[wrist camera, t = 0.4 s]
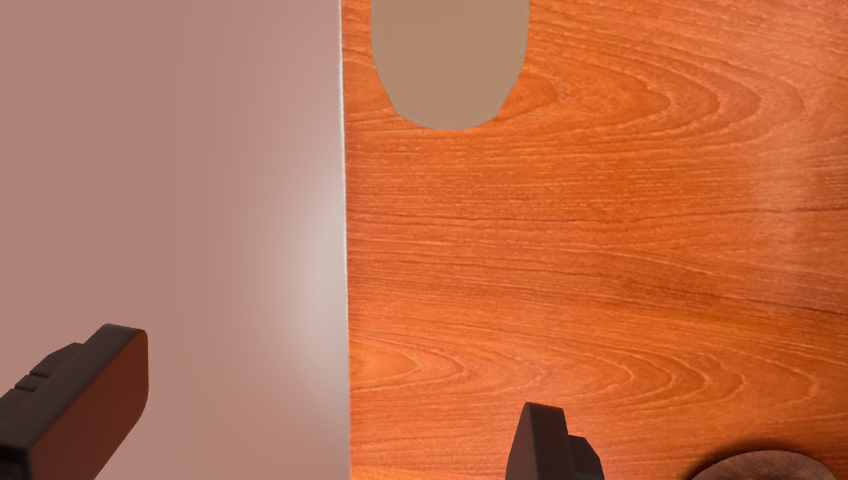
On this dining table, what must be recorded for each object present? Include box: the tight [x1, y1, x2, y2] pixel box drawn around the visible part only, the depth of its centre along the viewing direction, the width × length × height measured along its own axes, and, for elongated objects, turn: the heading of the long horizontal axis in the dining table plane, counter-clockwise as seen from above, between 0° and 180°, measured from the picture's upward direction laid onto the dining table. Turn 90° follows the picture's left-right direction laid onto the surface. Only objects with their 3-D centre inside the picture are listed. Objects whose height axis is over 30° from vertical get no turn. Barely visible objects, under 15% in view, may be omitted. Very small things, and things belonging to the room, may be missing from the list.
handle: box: [370, 0, 529, 131], centre depth 26 cm, size 5×6×15 cm
